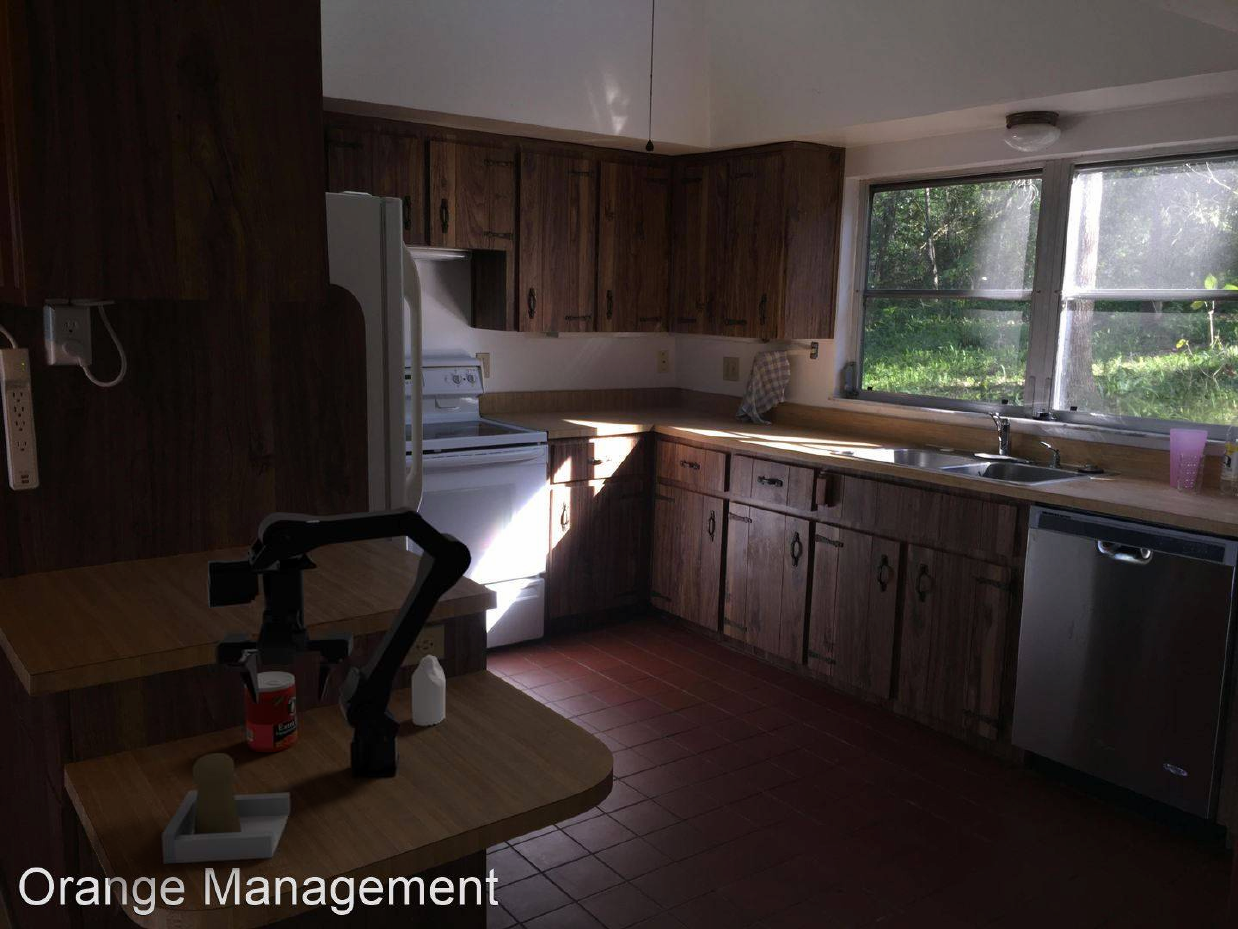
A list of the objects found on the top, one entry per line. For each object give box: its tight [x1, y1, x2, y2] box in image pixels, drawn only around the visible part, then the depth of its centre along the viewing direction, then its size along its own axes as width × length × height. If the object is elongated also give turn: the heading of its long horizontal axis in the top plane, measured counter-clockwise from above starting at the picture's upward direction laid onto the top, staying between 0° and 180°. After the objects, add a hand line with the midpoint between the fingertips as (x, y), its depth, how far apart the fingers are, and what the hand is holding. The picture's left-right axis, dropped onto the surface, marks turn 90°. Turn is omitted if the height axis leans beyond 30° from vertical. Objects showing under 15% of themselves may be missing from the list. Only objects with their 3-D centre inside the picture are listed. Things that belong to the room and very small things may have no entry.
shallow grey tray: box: [161, 789, 291, 865], centre depth 136 cm, size 14×12×4 cm
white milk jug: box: [411, 654, 447, 727], centre depth 175 cm, size 6×12×6 cm
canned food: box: [243, 671, 298, 753], centre depth 165 cm, size 8×8×11 cm
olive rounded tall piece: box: [192, 752, 241, 834], centre depth 136 cm, size 6×6×11 cm
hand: (288, 701), depth 150 cm, fingers open, 9 cm apart
